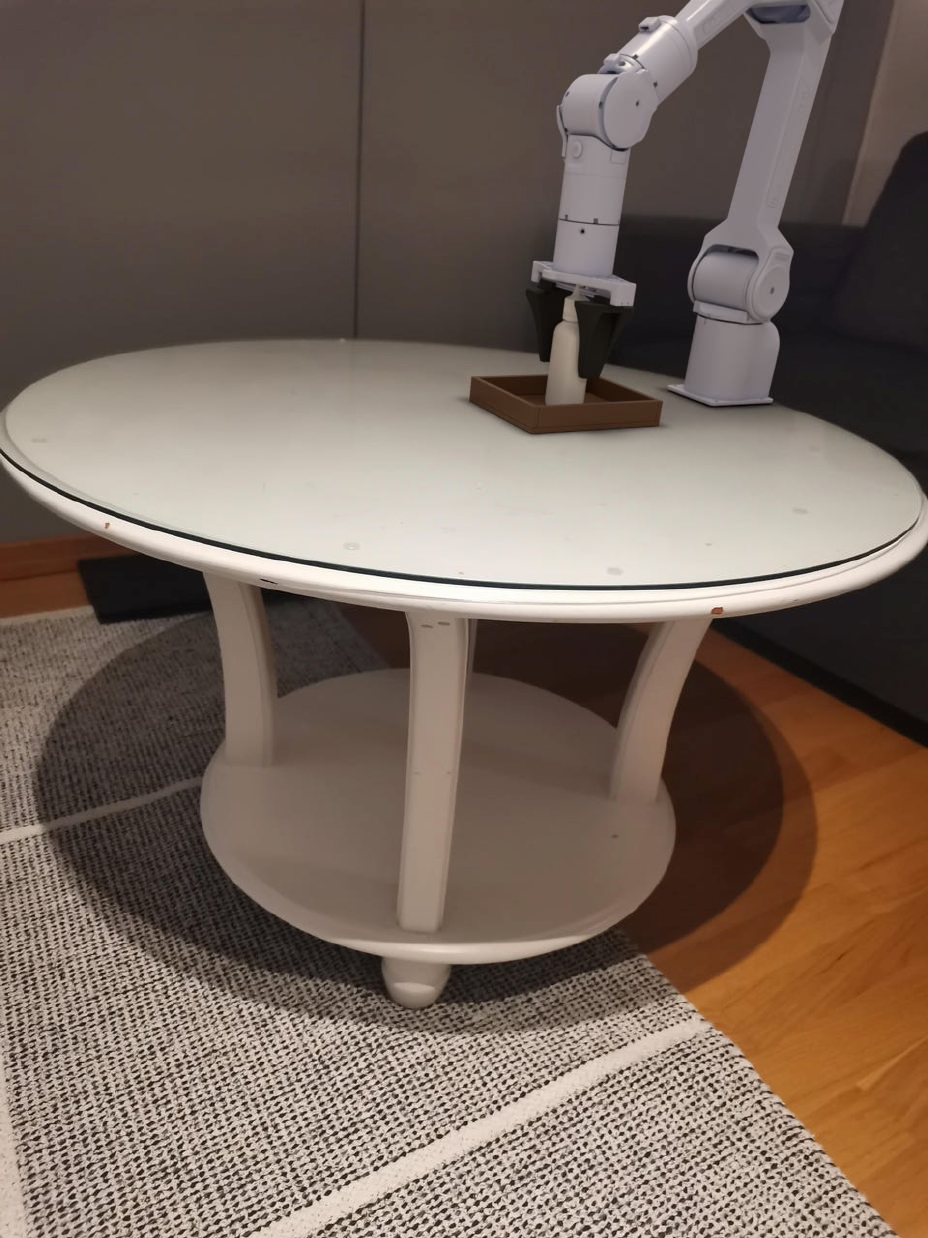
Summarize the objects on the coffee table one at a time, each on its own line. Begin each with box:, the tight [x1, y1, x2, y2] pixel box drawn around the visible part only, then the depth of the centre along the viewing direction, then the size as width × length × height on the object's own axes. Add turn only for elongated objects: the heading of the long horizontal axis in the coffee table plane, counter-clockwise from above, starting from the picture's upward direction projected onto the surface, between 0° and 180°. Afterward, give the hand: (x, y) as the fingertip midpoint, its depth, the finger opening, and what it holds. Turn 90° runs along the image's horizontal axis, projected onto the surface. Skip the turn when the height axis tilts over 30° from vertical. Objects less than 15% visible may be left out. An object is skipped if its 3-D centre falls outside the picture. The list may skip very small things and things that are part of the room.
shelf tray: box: [468, 373, 664, 435], centre depth 95 cm, size 15×12×2 cm
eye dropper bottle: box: [545, 284, 591, 405], centre depth 93 cm, size 4×6×12 cm
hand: (568, 369), depth 94 cm, fingers open, 6 cm apart
